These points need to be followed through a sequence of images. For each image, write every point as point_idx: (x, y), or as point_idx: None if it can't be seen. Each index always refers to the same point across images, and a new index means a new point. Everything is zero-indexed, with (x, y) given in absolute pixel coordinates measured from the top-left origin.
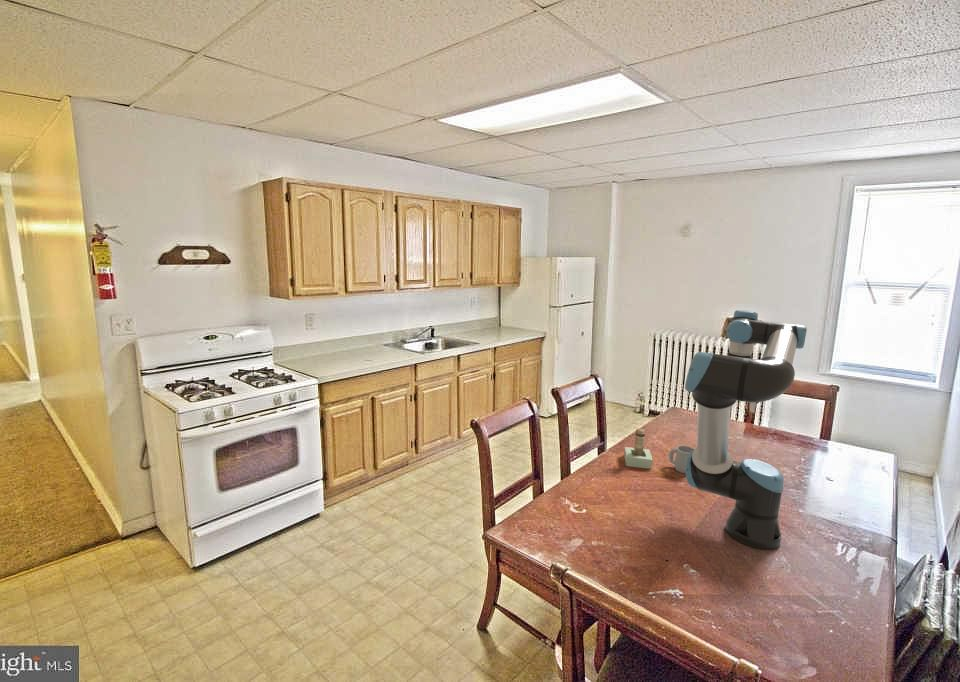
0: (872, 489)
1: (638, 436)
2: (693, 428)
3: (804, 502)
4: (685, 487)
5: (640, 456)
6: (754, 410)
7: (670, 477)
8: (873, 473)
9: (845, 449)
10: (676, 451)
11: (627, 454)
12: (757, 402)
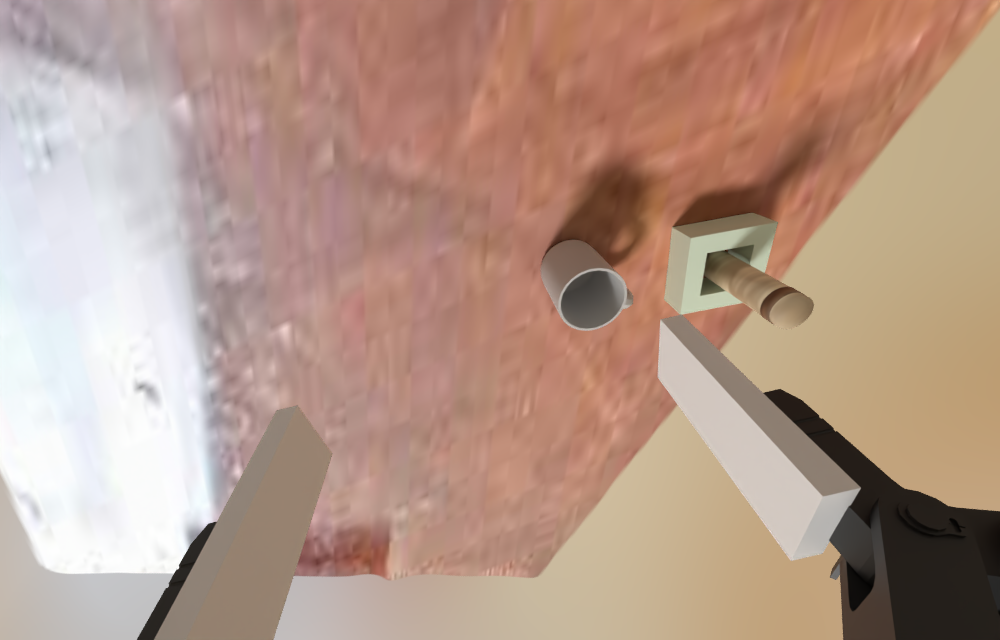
0: (14, 380)
1: (790, 287)
2: (508, 512)
3: (183, 189)
4: (585, 125)
5: (727, 246)
6: (270, 429)
7: (622, 188)
8: (46, 473)
9: (147, 558)
10: (619, 293)
11: (768, 244)
12: (208, 535)
